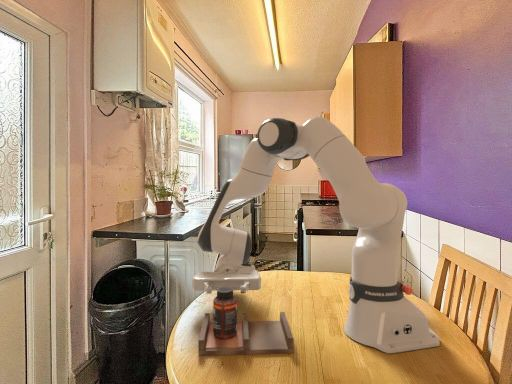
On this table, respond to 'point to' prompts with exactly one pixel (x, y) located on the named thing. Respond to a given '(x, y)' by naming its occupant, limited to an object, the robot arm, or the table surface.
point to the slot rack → (248, 338)
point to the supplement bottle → (225, 313)
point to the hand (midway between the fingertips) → (226, 290)
